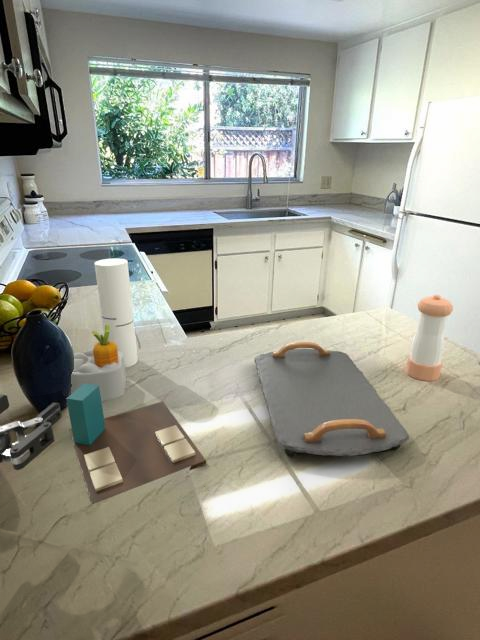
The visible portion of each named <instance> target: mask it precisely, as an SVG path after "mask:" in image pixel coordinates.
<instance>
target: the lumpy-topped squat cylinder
mask: <svg viewBox="0 0 480 640" xmlns="http://www.w3.org/2000/svg"><path fill="white" fill-rule="evenodd" d="M93 349H94V346H93V347H90V348H88V349H86V350H85V351H84V352H74V353H73V354H74V370H73V372H72V374H71V384H72V387H71V394H72V393H73V392H74V391H76V390H77V389H78V388H79V387H80V386H82V385H83V384H84V383H85V384H92V385H99V388H100V395H101V402H104V401H105V402H106V401H111V400H114V399H117V398H120V397H121V396H123V395H124V394H125V391H126V390H125V385H126V384H127V375H126V368H125V364H124V355H123V353H121V352H119V351H118V363H115V362H114V363H112V364H108V365H104V366H103V367H102V368H101V367H98V366H97V365H95V361H94V355H93Z"/></svg>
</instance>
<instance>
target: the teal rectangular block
mask: <svg viewBox="0 0 480 640" xmlns="http://www.w3.org/2000/svg"><path fill="white" fill-rule="evenodd" d="M65 399H66V405H67V410H68V416H69V420H70V426H71V428H72V432H73V438H74V443H78V444H83V445H89V446H90V445H91V444H92V443H93V441H94V440H95V439H96V438H97V437H98V436H99V435H100V434H101V433H102V431H103V430H104V429H105V422H104V418H105V417H104V411H103V410H104V409H103V401H101V395H100V388H99V385H92V384H85V383H84V384H83V385H82V386H80V387H79V388H78V389H77V390H76V391H74V392H73V393H72V394H71V395H70V396H69V397H67V398H65Z"/></svg>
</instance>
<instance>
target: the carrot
mask: <svg viewBox="0 0 480 640" xmlns="http://www.w3.org/2000/svg"><path fill="white" fill-rule="evenodd" d="M91 333H92V335H93V336H94V337H95V338H96V340H97V341H98V342H97V343H95V344H94V346H93V347H94V349H93V355H94V361H95V365H97V366H98V367H101V368H102V367H103V366H104V365H108V364H112V363H114V362H115V363H118V350H117V345H116V343H114V342H111V341H108V338H109V325H105V333H104V332H103V334H102V333H100V334H99V333H98V332H96V331H95V330H92V331H91Z"/></svg>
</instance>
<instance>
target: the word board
mask: <svg viewBox="0 0 480 640" xmlns="http://www.w3.org/2000/svg"><path fill="white" fill-rule="evenodd" d="M104 422H105V429H104V430H103V431H102V433H101V434H100V435H99V436H98V437H97V438H96V439H95V440H94V441H93V443H92V444H91V445H90V446H89V445H83V444H78V443H74V438H73V432H72V427H71V428H68V431H69V434H70V437H71V441H72V445H73V447H74V451H75V453H76V458H77V461H78V464H79V468H80V471H81V474H82V478H83V481H84V483H85V488H86V491H87V494H88V497H89V501H90V505H94V504H97V503H99V502H102V501H104V500H107V499H109V498H112V497H115V496H117V495H121V494H123V493H125V492H127V491H130V490H133V489H135V488H138V487H141V486H143V485H146V484H148V483H151V482H153V481H156V480H159V479H161V478H164V477H166V476H169V475H171V474H175V473H176V472H179V471H182V470H185V469H188V468H189V467H190V468H189V470H188V471H192V470H194V469H197V468H199V467H202V466H204V465H206V464H207V459H206V457H204V455H203V454H202V452H201V451H200V450H199V448H198V447H197V446H196V444H195V443H194V442H193V440H192V439H191V438H190V436H189V435H188V433H187V432H186V430H185V429H184V428H183V426H182V425H181V424H180V423H179V421H178V420H177V418H176V417H175V415H174V414H173V412H172V411H171V410H170V408H169V407H168V406H167V404H166V403H165V402H164V401H163V400H162V401H159V402H156V403H152V404H149V405H146V406H142V407H139V408H135V409H132V410H128V411H125V412H122V413H118V414H115V415H112V416H108V417H104Z"/></svg>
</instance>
